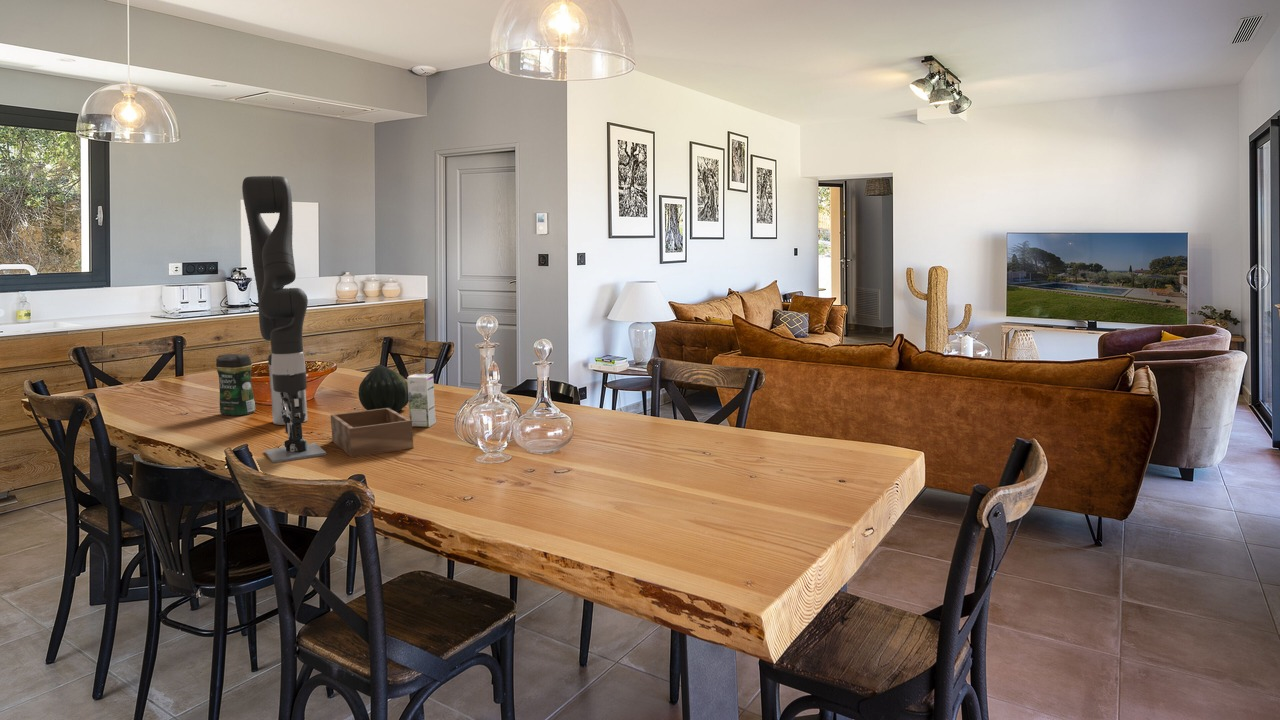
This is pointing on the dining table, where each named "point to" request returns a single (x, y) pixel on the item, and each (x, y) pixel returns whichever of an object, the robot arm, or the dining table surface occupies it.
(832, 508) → the dining table surface
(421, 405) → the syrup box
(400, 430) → the walnut box frame
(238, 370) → the coffee jar
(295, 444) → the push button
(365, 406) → the squash
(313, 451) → the slate pad
